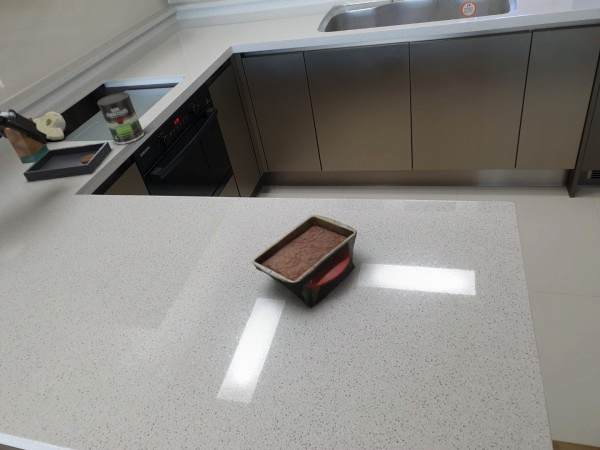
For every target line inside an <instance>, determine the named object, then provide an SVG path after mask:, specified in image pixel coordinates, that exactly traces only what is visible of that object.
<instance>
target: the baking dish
mask: <svg viewBox="0 0 600 450" xmlns="http://www.w3.org/2000/svg"><path fill="white" fill-rule="evenodd" d="M357 234H358V231H357V229H355V228H353V227H351V226H350V225H348V224H344V223H341V222H339V220H335V219H332V218H329V217H326V216H323V215H317V214H311V215H309V216H308V217H307V218H306V219H304V220H303V221H302V222H300V223H298V224H297V225H296V226H295V227H293V228H292V229H291V230H289V232H287V233H286V234H284V235H283V236H282V237H281V238H279V239H278V240H277V241H275V242H274V243H273V244H271V245H270V246H268V247H267V248H266V249H264V250H263V251H262V252H260V253H259V254H258V255H256V256H255V257H254V258H253V259H252V262H251V263H252V265H253V266H254V267H255V269H256V270H258V271H260V272H261V273H264V274H266V275H268V276H269V277H271V278H272V279H273V280H275V281H276V282H277V283H278V284H280V285H281V286H282V287H284V288H285V289H286V290H287V291H288V292H290V293H291V294H292V295H293V296H294V297H296V298H297V299H299V301H300V302H302V303H303V304H304V305H305V306H307V307H308V308H309V309H312V308H313V307H316V305H318V304H319V303H320V302H321V301H322V300H323V299H325V298H326V297H327V296H328V295H329V294H330V293H332V291H334V289H336V288H337V286H339V285H340V284H341V283H342V282H343V281H344V280H345V279H346V278H347V277H348V276H349V275H350V274H351V273H352V272H353V271H354V269H355V268H356V266H355V264H354V262H353V260H354V247H355V243H356V238H357Z"/></svg>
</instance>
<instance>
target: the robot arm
mask: <svg viewBox="0 0 600 450" xmlns="http://www.w3.org/2000/svg"><path fill="white" fill-rule="evenodd" d="M5 128H10V129H13V130H15V131H18V132H21V133H24V134H27V137H28V138H32V139H34V140H36V141H38V142H41V143H43V144H46V145H47V142H48V141H47V140H48V139H47V134H45V133H43V132H41V131H39V130H37V129H36V123H34V122H33V121H31V120H29V119H27V117H25V116H23V115H22V114H20V113H18V112H16V110H15V109H13V108H9V109H8V111H2V110H0V139H2V138H4V139H8V138H7V136H6V134H5V133H4V131H3V130H4V129H5Z"/></svg>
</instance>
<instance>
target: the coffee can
mask: <svg viewBox="0 0 600 450" xmlns="http://www.w3.org/2000/svg"><path fill="white" fill-rule="evenodd" d="M96 103H97V106H98V107H99V110H100V112H101V114H102V116H103V119H104V121H105V123H106V126H107V128H108V130H109V132H110V135H111V137H112V139H113V142H114V143H115V144H117V145H127V144H131V143H134V142H136V141H138V140H140V139H142V137H144V134H145V132H144V130H143V127H142V125H141V122H140V119H139V117H138V115H137V111H136V110H135V108H134V104H133V102H132V100H131V97H130V94H129V93H128V92H115V93H112V94H108V95H106V96H103V97H102V98H100V99H99V100H98V101H97V102H96Z"/></svg>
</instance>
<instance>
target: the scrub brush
mask: <svg viewBox="0 0 600 450" xmlns="http://www.w3.org/2000/svg"><path fill="white" fill-rule="evenodd" d="M26 118H27V117H26ZM27 119H29V120H31V121H33V120H34V119H33V117H32V116H30V117H28V118H27ZM36 129H37V127H36ZM37 130H38V129H37ZM3 131H4V133H5V134H6V136H7V138H6V139H7V140H8V141H9V144H10V145H11V146H12V148H13V150H14V152H15V153H16V155H17V156H18V158H19V160H20V162H21V163H22V165H25V164H34V163H35V162H37V161H38V160H39V159H40V158H41V157H42V156H43V155H44V154H45V153H47V152H48V151H49V150H50V149H49V148H48V146H47V144H43V143H41V142H38V141H36V140H34V139H32V138H28V137H27V134H24V133H21V132H18V131H15V130H13V129H10V128H5V129H4V130H3Z"/></svg>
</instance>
